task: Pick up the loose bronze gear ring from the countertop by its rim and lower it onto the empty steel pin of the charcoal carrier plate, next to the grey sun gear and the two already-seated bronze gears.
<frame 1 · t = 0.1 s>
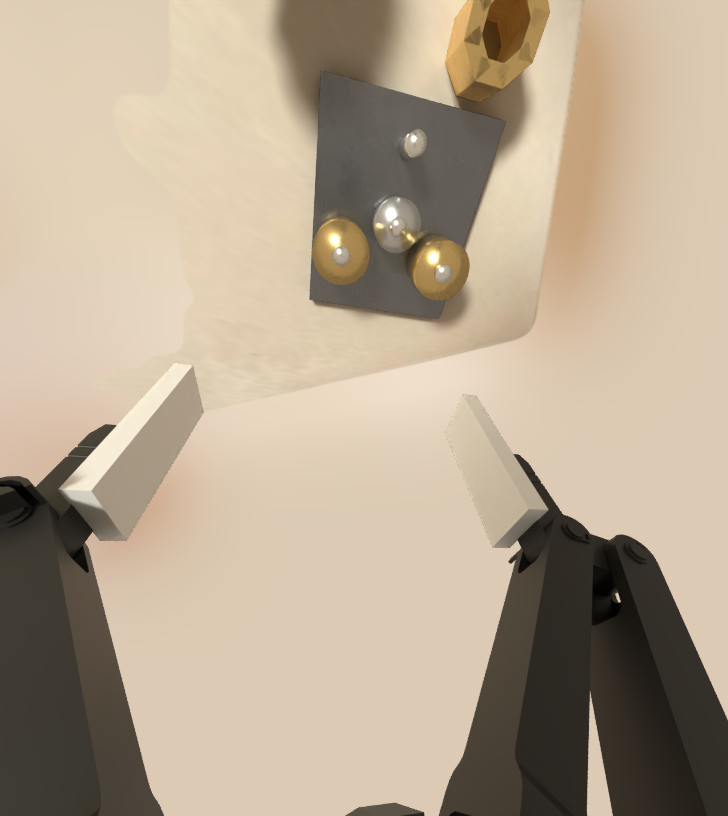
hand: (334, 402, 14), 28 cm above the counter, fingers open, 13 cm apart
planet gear: (480, 50, 25), on the counter
carrier: (391, 222, 33), on the counter
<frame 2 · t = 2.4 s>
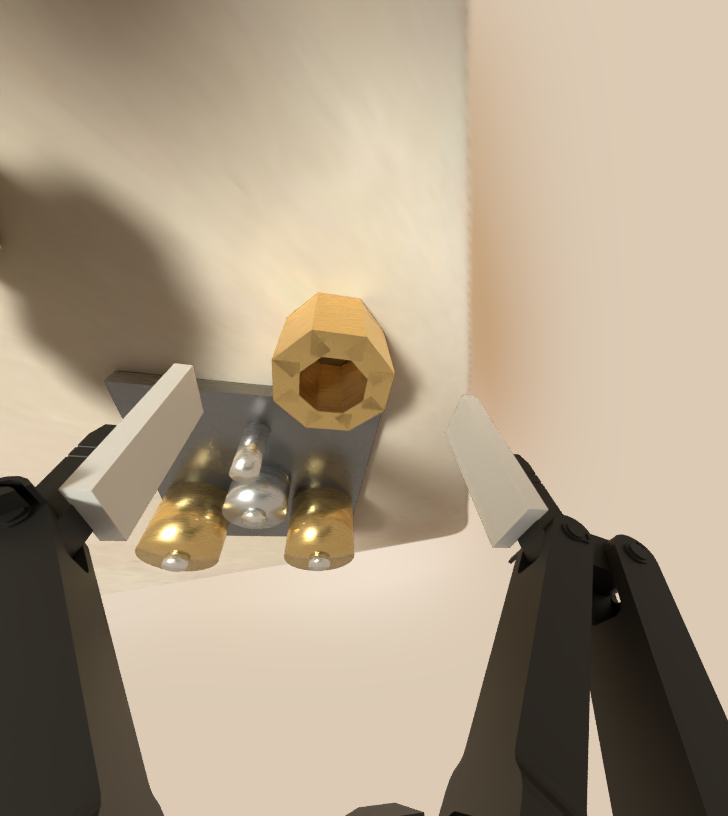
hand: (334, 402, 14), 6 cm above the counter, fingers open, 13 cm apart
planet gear: (334, 342, 18), on the counter
carrier: (264, 472, 26), on the counter
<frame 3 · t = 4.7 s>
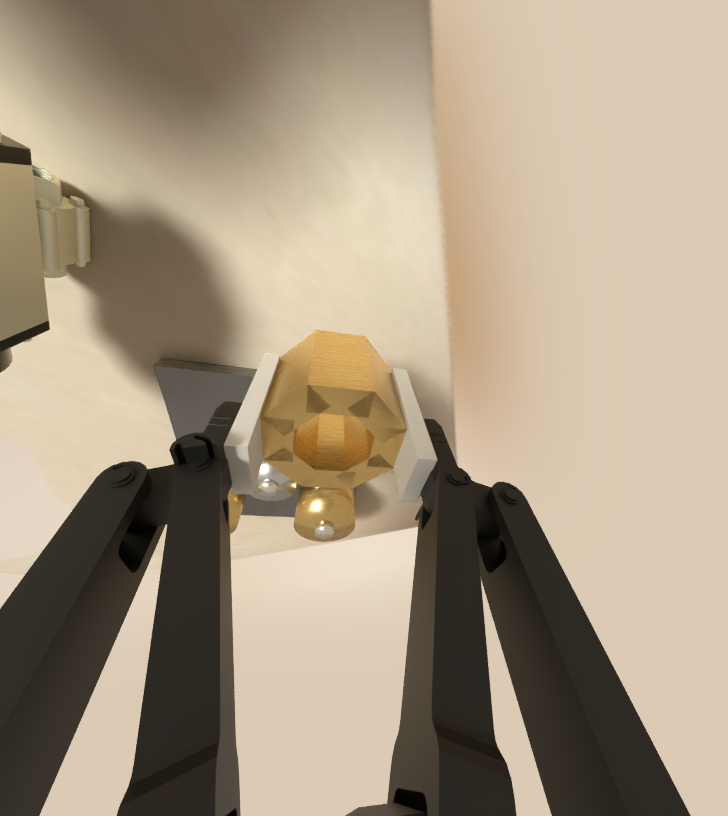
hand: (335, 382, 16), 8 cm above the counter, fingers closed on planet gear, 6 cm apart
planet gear: (335, 382, 16), point 8 cm above the counter, touching gripper
carrier: (277, 453, 30), on the counter
pneumatic valve: (54, 216, 17), on the counter
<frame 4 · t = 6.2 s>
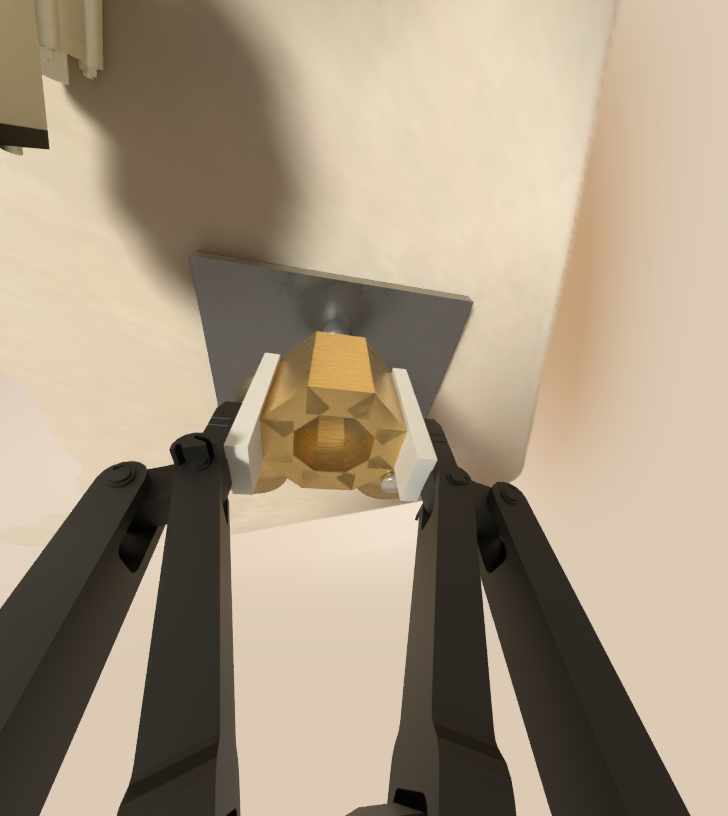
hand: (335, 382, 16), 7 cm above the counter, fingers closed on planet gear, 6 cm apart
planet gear: (335, 383, 16), point 7 cm above the counter, touching gripper
carrier: (328, 394, 25), on the counter
when the fingers open (1 cm above the counter, at t = 7.6 s): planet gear stays where it is, resting on carrier.
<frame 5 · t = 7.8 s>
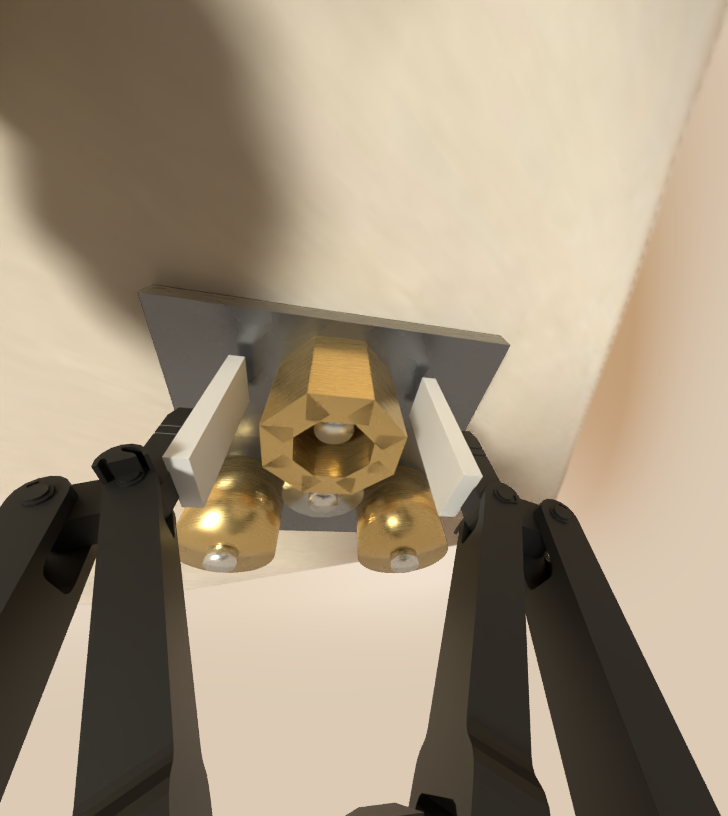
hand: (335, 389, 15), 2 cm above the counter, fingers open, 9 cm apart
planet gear: (335, 386, 16), point 1 cm above the counter, touching carrier
carrier: (326, 446, 21), on the counter
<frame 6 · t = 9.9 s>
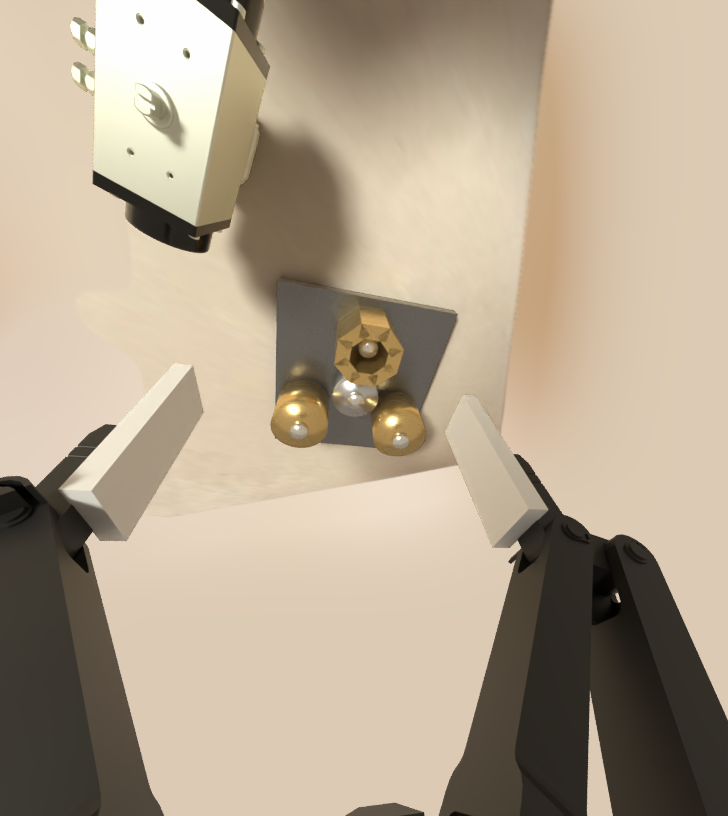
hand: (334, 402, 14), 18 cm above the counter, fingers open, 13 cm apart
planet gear: (364, 335, 30), point 1 cm above the counter, touching carrier
carrier: (354, 379, 34), on the counter
pneumatic valve: (227, 138, 21), on the counter
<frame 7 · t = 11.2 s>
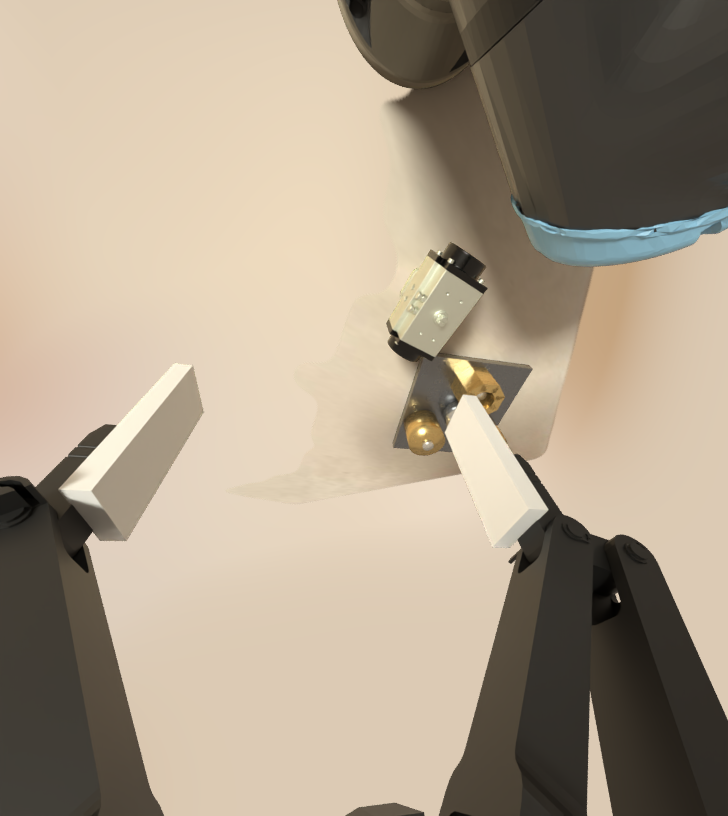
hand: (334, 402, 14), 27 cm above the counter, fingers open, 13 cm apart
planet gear: (470, 382, 46), point 1 cm above the counter, touching carrier
carrier: (454, 407, 50), on the counter
pneumatic valve: (414, 284, 37), on the counter
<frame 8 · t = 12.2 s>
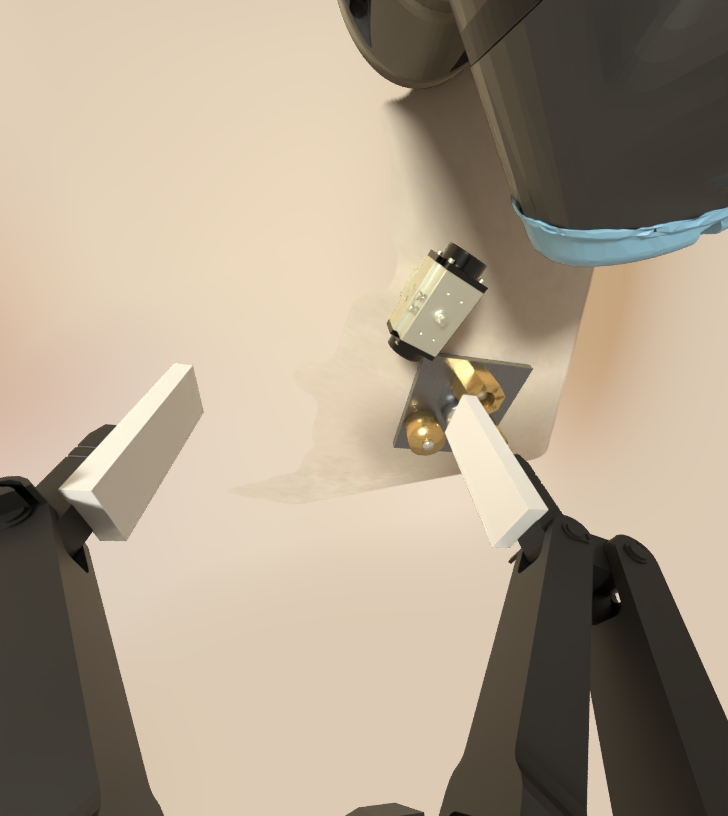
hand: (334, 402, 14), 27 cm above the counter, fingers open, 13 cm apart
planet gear: (471, 382, 46), point 1 cm above the counter, touching carrier
carrier: (454, 407, 50), on the counter
pneumatic valve: (414, 284, 37), on the counter
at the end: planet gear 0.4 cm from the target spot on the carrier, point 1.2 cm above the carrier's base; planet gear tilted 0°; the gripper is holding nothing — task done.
